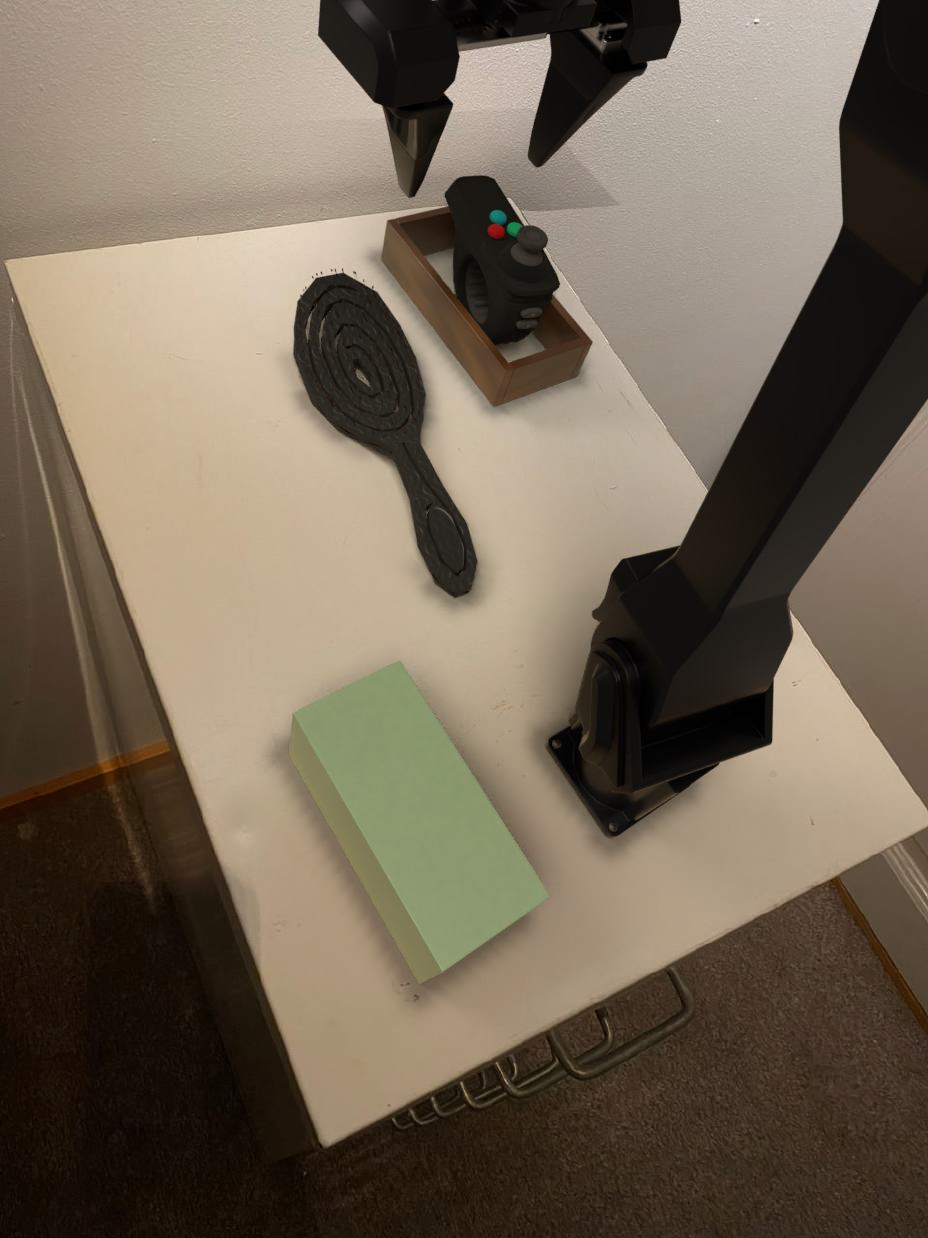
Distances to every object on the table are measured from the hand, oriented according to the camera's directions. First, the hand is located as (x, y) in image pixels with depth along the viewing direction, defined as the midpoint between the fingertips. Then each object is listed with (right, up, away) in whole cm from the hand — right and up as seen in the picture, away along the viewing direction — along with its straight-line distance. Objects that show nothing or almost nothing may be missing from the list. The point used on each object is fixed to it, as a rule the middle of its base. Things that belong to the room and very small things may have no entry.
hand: (472, 176), depth 48 cm
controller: (+1, -3, +15) cm, 15 cm away
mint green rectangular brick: (-4, -37, -5) cm, 37 cm away
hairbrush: (-6, -14, +8) cm, 17 cm away
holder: (+1, -3, +15) cm, 15 cm away
